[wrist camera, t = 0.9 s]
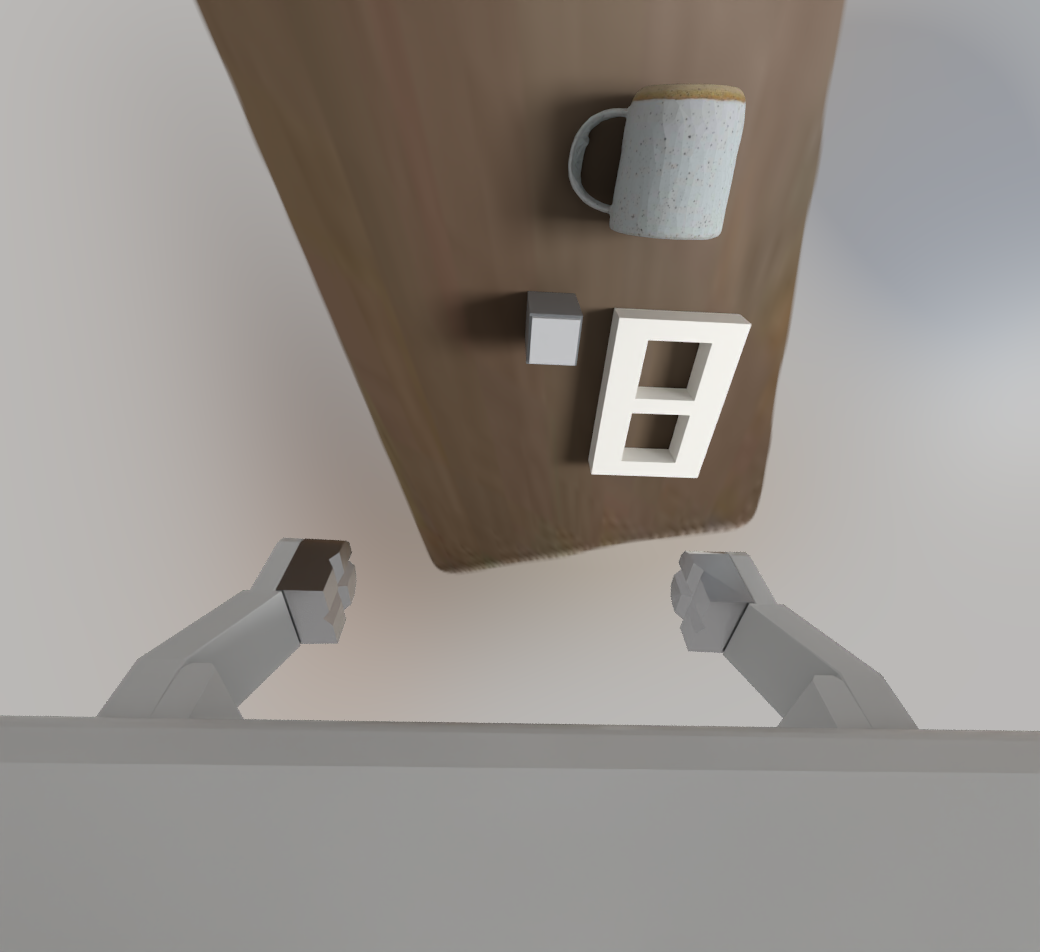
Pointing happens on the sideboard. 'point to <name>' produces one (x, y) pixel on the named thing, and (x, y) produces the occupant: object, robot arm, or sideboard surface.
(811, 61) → the sideboard surface
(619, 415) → the outlet plate
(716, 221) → the ceramic mug
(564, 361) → the plug
